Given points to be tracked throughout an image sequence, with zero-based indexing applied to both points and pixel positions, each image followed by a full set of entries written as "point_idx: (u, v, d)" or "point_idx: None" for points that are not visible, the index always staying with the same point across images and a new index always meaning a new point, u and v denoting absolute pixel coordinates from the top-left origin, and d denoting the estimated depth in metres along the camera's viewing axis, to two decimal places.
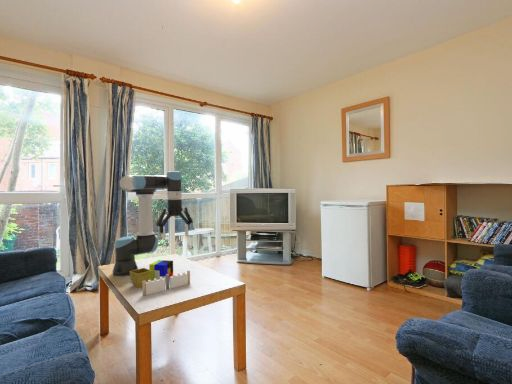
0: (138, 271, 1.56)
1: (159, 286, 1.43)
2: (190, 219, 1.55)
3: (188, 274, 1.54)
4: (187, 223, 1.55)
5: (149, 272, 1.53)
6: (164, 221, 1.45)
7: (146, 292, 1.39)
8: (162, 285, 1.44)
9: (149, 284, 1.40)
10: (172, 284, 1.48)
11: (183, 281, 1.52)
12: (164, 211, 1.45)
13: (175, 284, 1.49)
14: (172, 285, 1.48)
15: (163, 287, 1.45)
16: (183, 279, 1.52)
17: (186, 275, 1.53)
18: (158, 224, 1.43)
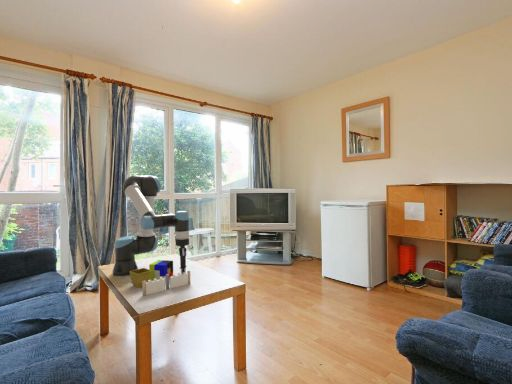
0: (138, 271, 1.56)
1: (159, 286, 1.43)
2: (181, 264, 1.52)
3: (188, 274, 1.54)
4: None
5: (149, 272, 1.53)
6: (180, 261, 1.57)
7: (146, 292, 1.39)
8: (162, 285, 1.44)
9: (149, 284, 1.40)
10: (172, 284, 1.48)
11: (183, 281, 1.52)
12: None
13: (175, 284, 1.49)
14: (172, 285, 1.48)
15: (163, 287, 1.45)
16: (183, 279, 1.52)
17: (186, 275, 1.53)
18: (180, 263, 1.58)
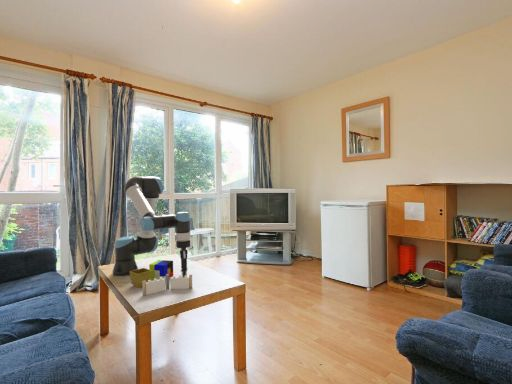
0: (138, 271, 1.56)
1: (159, 286, 1.43)
2: (182, 267, 1.46)
3: (189, 278, 1.47)
4: None
5: (149, 272, 1.53)
6: (181, 264, 1.51)
7: (146, 292, 1.39)
8: (162, 285, 1.44)
9: (149, 284, 1.40)
10: (172, 285, 1.46)
11: (184, 284, 1.47)
12: None
13: (174, 286, 1.47)
14: (172, 286, 1.46)
15: (163, 287, 1.45)
16: (184, 282, 1.47)
17: (187, 279, 1.47)
18: (181, 266, 1.53)
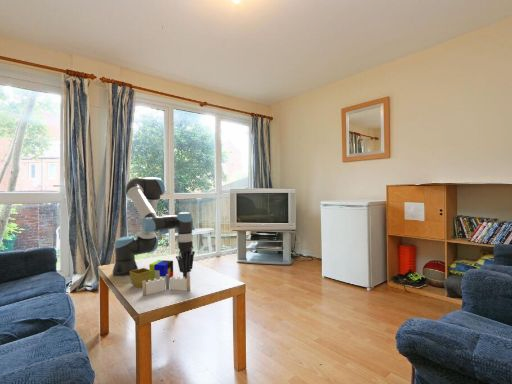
0: (138, 271, 1.56)
1: (159, 286, 1.43)
2: None
3: (187, 280, 1.44)
4: None
5: (149, 272, 1.53)
6: None
7: (146, 292, 1.39)
8: (162, 285, 1.44)
9: (149, 284, 1.40)
10: (171, 286, 1.46)
11: (182, 286, 1.44)
12: None
13: (173, 286, 1.45)
14: (171, 287, 1.46)
15: (163, 287, 1.45)
16: (182, 284, 1.44)
17: (185, 281, 1.44)
18: None
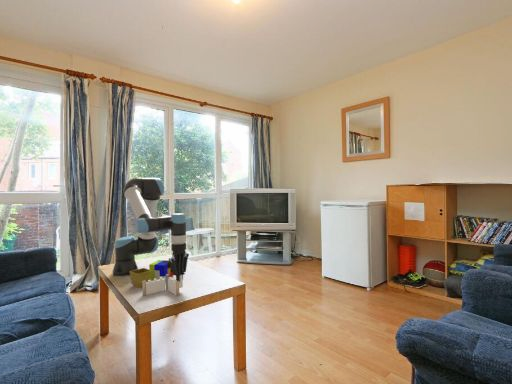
0: (138, 271, 1.56)
1: (159, 286, 1.43)
2: None
3: (175, 285, 1.37)
4: None
5: (149, 272, 1.53)
6: None
7: (146, 292, 1.39)
8: (162, 285, 1.44)
9: (149, 284, 1.40)
10: (168, 286, 1.45)
11: (173, 289, 1.40)
12: None
13: (169, 288, 1.43)
14: (168, 287, 1.45)
15: (163, 287, 1.45)
16: (173, 287, 1.40)
17: (175, 285, 1.38)
18: None
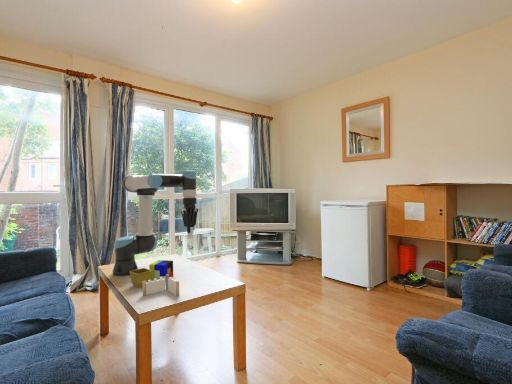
0: (138, 271, 1.56)
1: (159, 286, 1.43)
2: (184, 222, 1.53)
3: (175, 285, 1.37)
4: None
5: (149, 272, 1.53)
6: None
7: (146, 292, 1.39)
8: (162, 285, 1.44)
9: (149, 284, 1.40)
10: (168, 286, 1.45)
11: (173, 289, 1.40)
12: None
13: (169, 288, 1.43)
14: (168, 287, 1.45)
15: (163, 287, 1.45)
16: (173, 287, 1.40)
17: (175, 285, 1.38)
18: None
